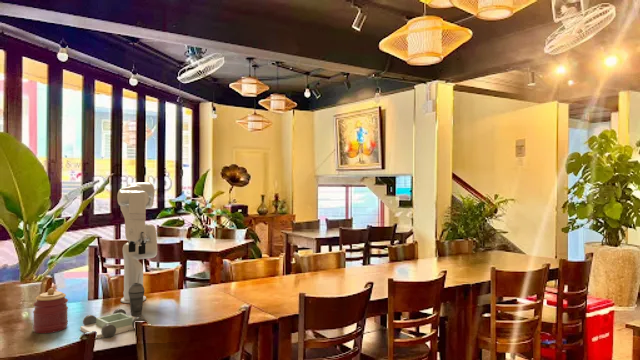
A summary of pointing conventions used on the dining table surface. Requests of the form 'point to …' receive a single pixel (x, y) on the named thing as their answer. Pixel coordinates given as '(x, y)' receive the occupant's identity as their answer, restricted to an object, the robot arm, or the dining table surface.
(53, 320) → the canister
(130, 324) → the chassis bay
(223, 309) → the dining table surface
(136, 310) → the beverage cup
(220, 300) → the dining table surface
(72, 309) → the dining table surface
